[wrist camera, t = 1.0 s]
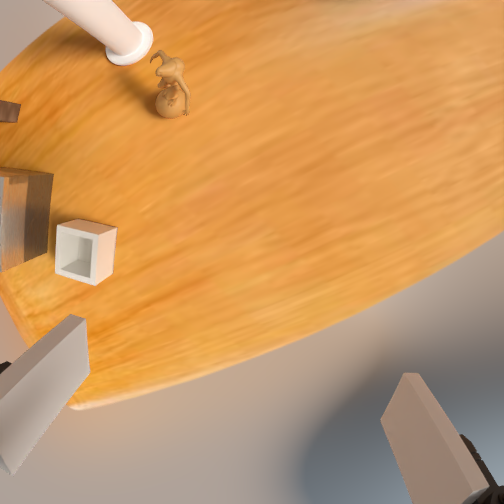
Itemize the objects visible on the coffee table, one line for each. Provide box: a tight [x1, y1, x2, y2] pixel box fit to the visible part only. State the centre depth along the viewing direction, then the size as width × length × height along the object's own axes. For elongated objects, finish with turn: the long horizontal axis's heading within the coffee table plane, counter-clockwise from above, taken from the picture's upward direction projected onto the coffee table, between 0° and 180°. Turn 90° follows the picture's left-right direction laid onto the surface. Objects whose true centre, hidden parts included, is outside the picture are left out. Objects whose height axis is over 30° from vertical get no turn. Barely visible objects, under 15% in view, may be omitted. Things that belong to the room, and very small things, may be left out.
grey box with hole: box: [0, 167, 54, 272], centre depth 34 cm, size 12×12×11 cm
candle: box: [43, 0, 153, 66], centre depth 22 cm, size 7×7×25 cm
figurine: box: [150, 50, 191, 119], centre depth 30 cm, size 8×6×12 cm
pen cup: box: [55, 219, 118, 286], centre depth 38 cm, size 7×7×6 cm
